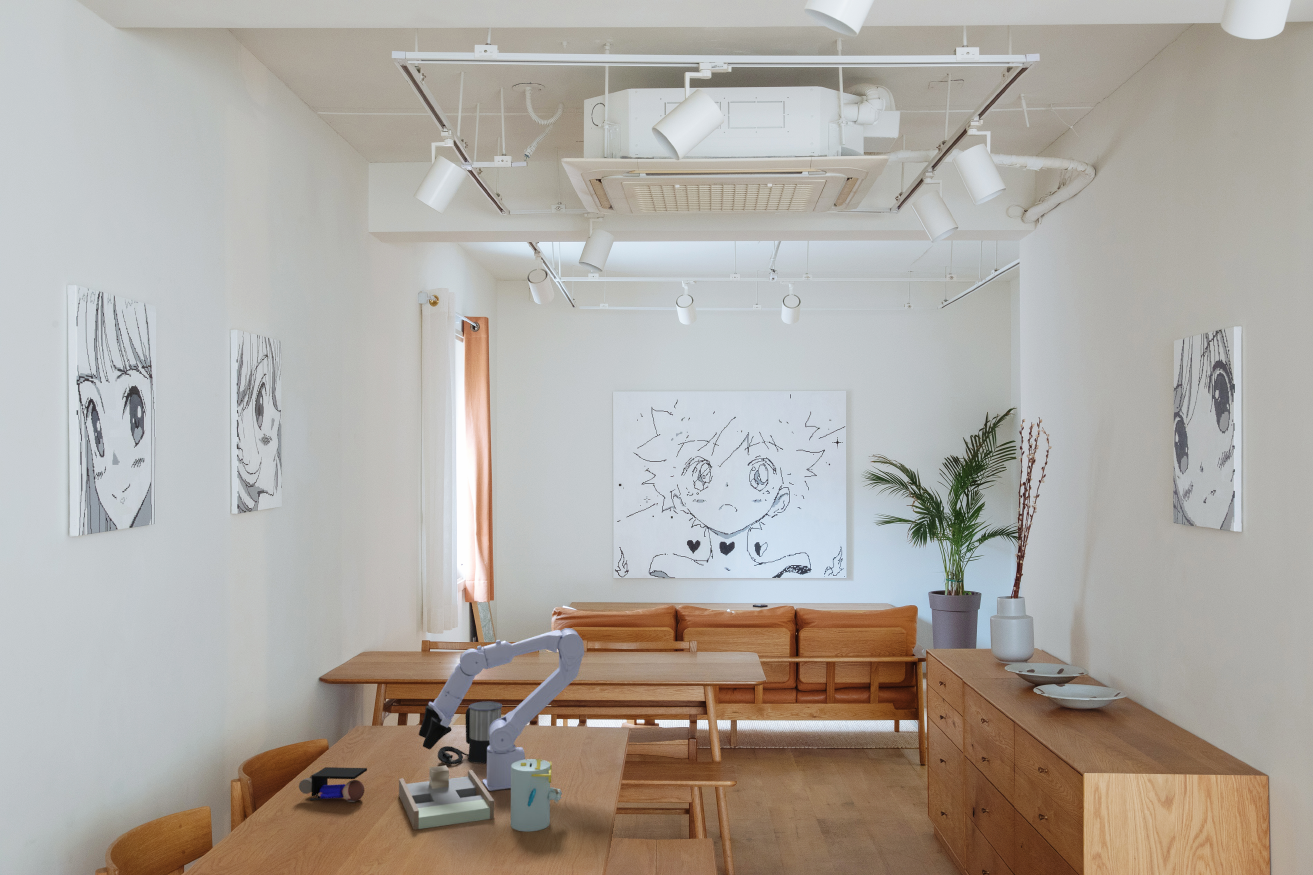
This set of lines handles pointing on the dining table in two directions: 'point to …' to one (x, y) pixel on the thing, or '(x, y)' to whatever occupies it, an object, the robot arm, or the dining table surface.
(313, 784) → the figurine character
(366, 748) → the dining table surface
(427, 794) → the box
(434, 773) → the block
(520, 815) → the pale blue upright cylinder
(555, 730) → the dining table surface
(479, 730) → the milk frother
